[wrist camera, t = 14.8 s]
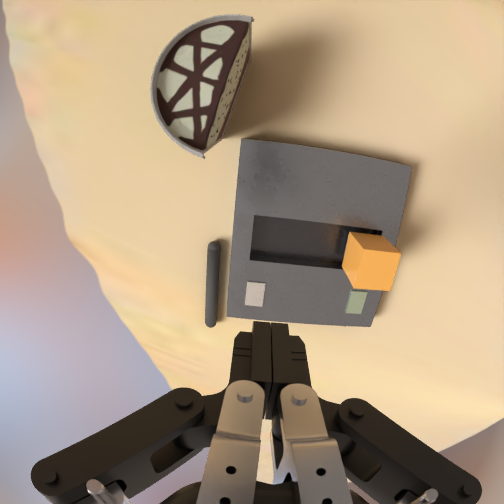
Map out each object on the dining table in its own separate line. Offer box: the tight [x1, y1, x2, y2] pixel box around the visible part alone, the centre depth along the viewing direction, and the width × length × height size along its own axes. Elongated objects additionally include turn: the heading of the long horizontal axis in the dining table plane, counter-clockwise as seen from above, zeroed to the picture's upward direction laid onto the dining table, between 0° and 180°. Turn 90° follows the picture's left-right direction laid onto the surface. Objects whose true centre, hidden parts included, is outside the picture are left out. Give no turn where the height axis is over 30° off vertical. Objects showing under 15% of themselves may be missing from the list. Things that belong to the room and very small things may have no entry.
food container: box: [150, 14, 254, 159], centre depth 23 cm, size 12×6×10 cm, turn 162°
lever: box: [342, 232, 401, 291], centre depth 30 cm, size 4×4×7 cm
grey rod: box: [205, 241, 220, 328], centre depth 36 cm, size 11×1×1 cm, turn 174°
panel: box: [226, 138, 412, 327], centre depth 33 cm, size 20×18×2 cm
